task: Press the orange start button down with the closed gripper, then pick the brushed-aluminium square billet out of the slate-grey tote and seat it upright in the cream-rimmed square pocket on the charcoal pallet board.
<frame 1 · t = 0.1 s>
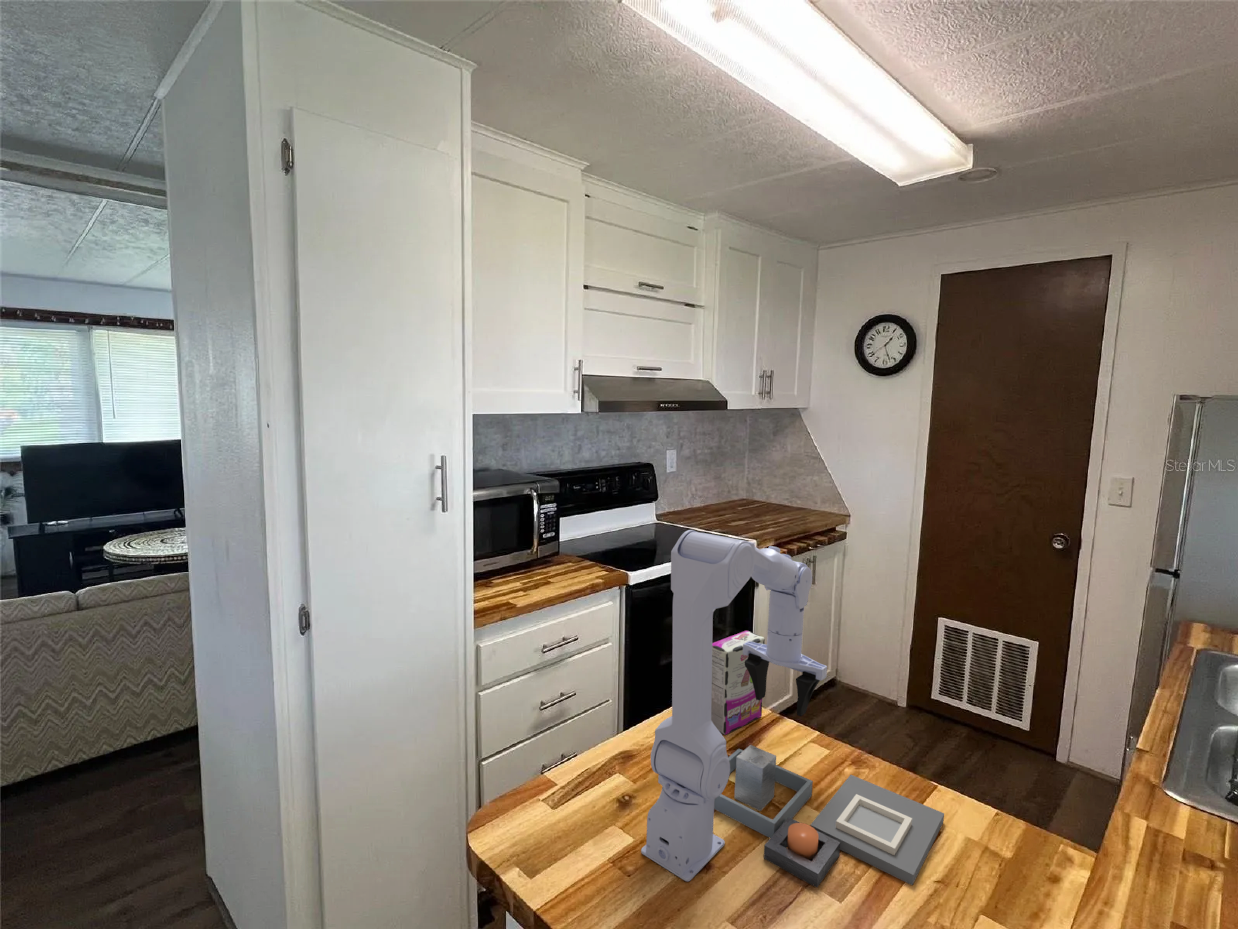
hand: (780, 705, 107), 10 cm above the worktop, fingers open, 7 cm apart
candy bar box: (733, 722, 121), on the worktop
pallet board: (877, 828, 92), on the worktop
tote: (754, 797, 98), on the worktop
start button: (802, 841, 86), point 2 cm above the worktop, slide at 0.0 cm
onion: (692, 737, 115), on the worktop
billet: (755, 777, 98), in the tote
button collar: (801, 857, 86), on the worktop
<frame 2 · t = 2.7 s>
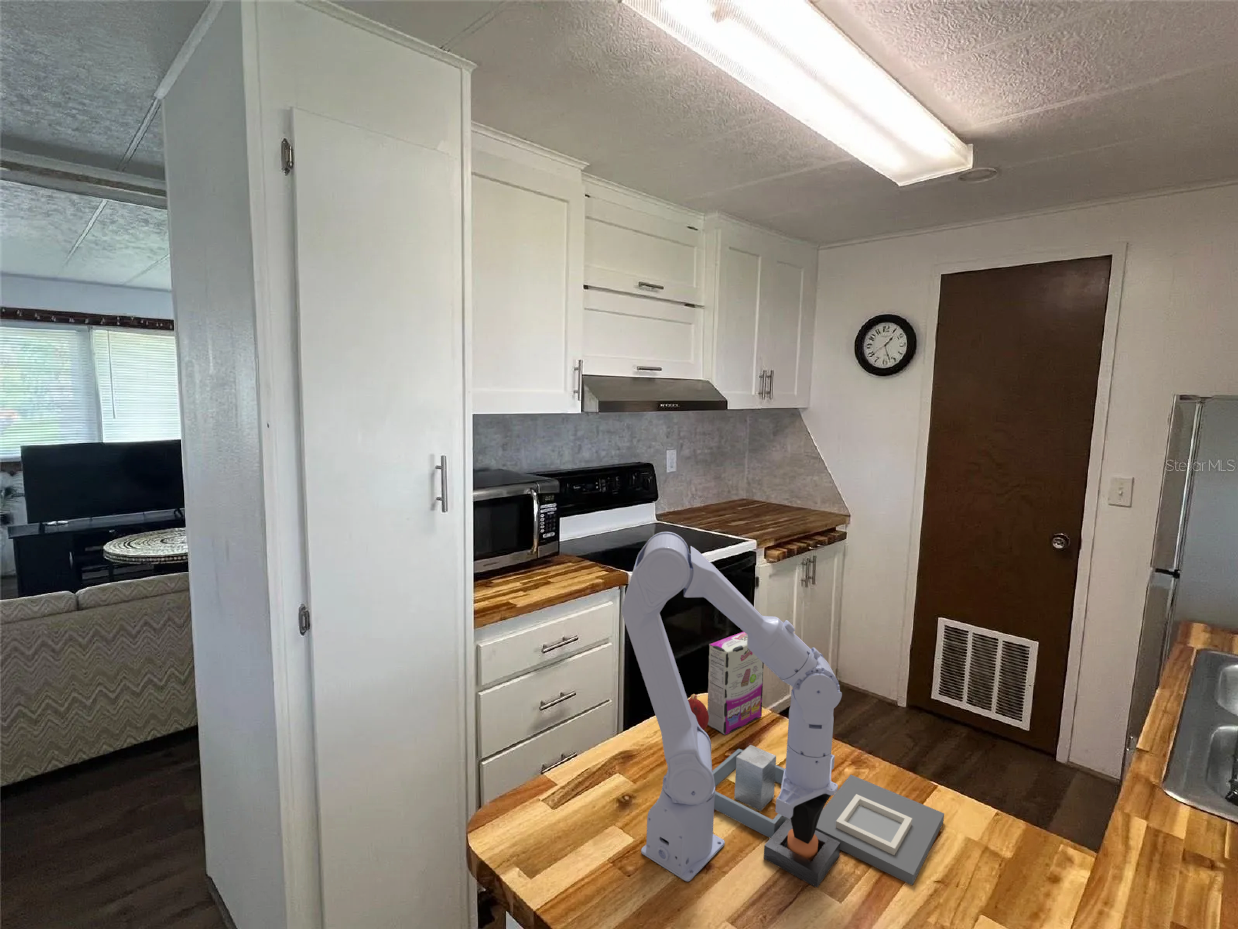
hand: (803, 838, 86), 3 cm above the worktop, fingers closed, pressing on start button
start button: (802, 846, 86), point 2 cm above the worktop, slide at 0.7 cm, touching gripper
everything else where it was.
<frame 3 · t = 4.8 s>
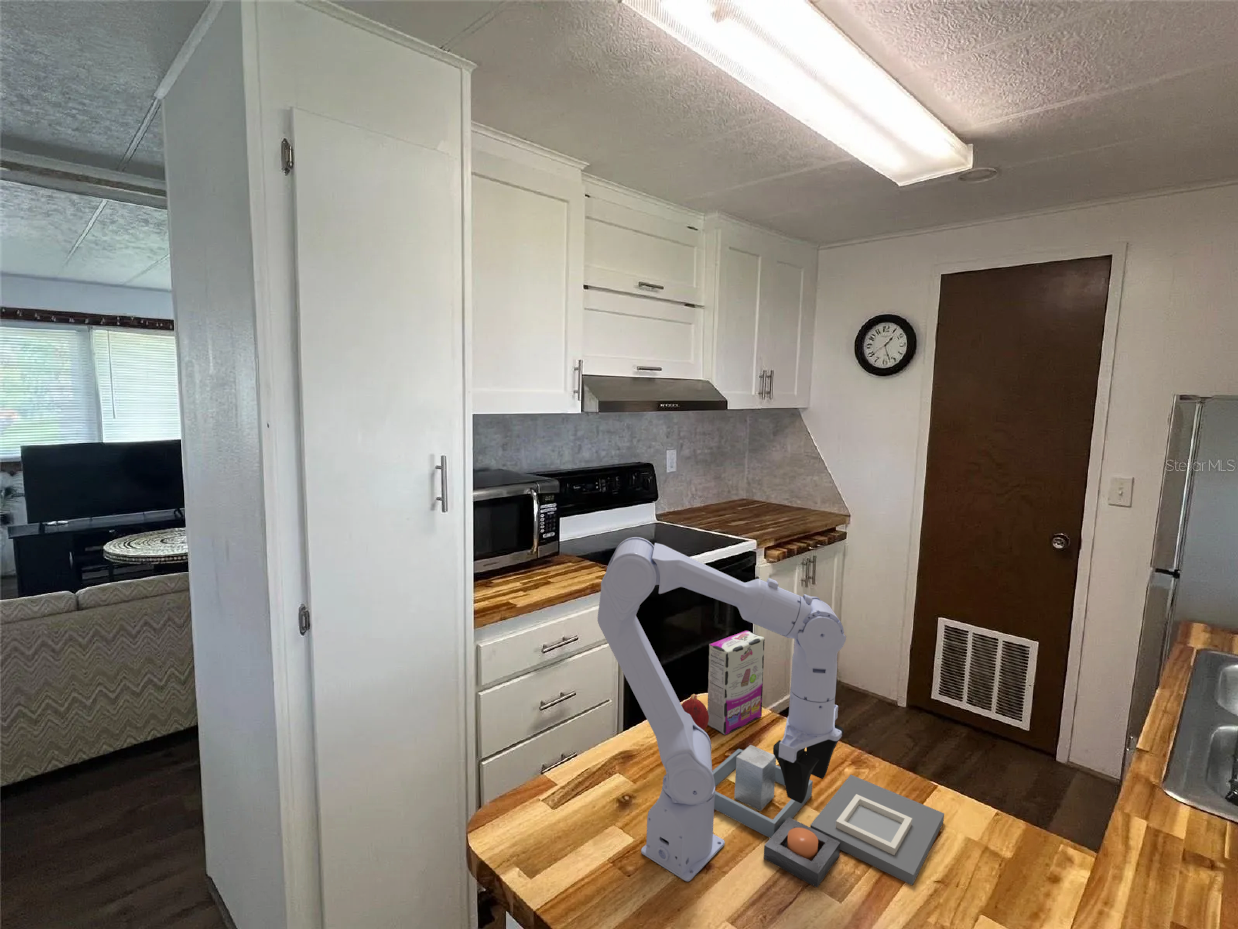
hand: (806, 787, 85), 10 cm above the worktop, fingers open, 6 cm apart
start button: (802, 846, 86), point 2 cm above the worktop, slide at 0.7 cm
everything else where it was.
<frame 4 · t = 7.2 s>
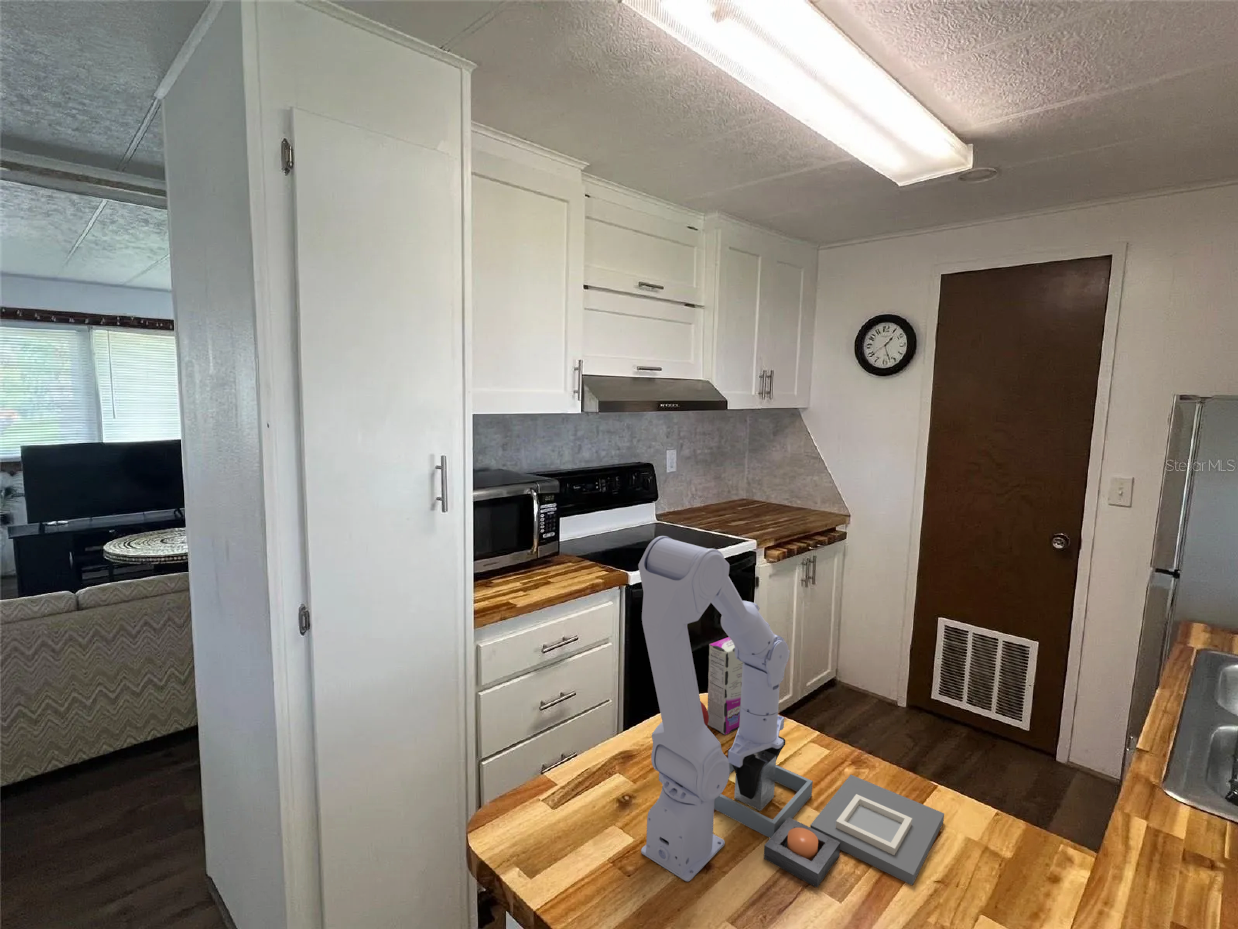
hand: (754, 788, 98), 2 cm above the worktop, fingers closed on billet, 4 cm apart
billet: (755, 777, 98), in the tote, touching gripper
everything else where it was.
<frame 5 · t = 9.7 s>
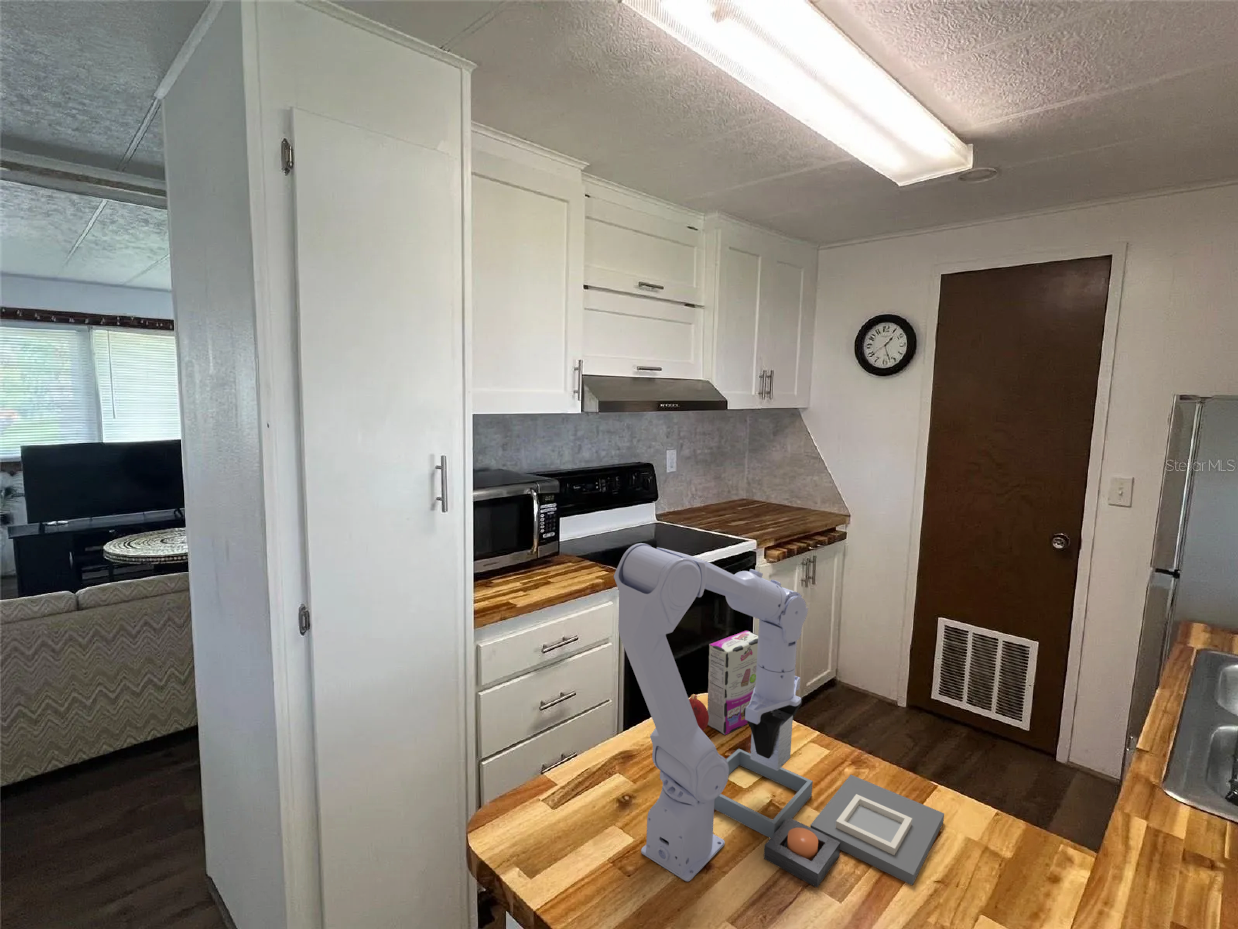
hand: (771, 748, 96), 9 cm above the worktop, fingers closed on billet, 4 cm apart
billet: (771, 737, 96), point 11 cm above the worktop, touching gripper
everything else where it was.
when the fingers open (4 cm above the worktop, at t = 12.4 s): billet stays where it is, resting on pallet board.
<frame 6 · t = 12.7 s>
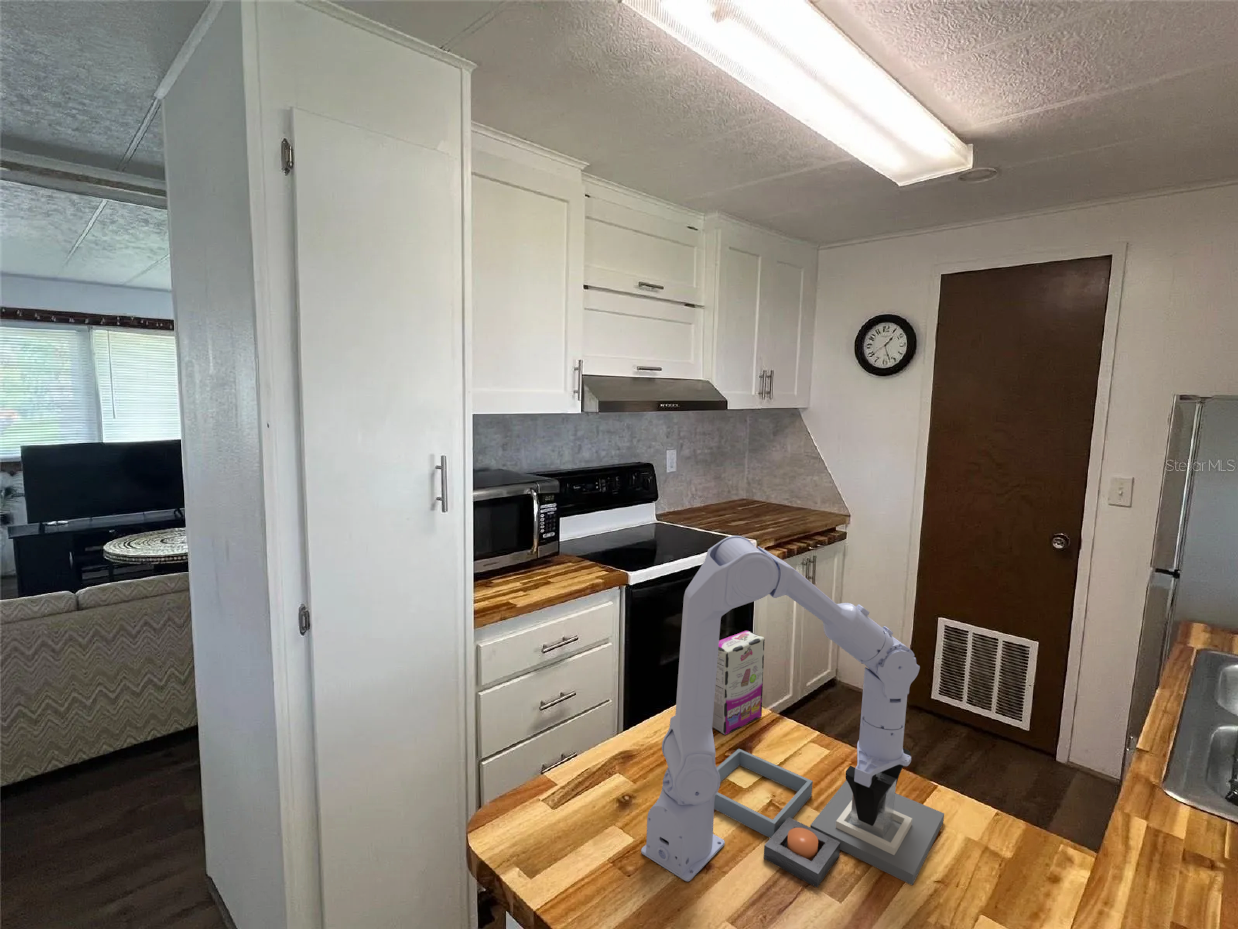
hand: (875, 808, 90), 4 cm above the worktop, fingers open, 7 cm apart
billet: (873, 802, 90), point 5 cm above the worktop, touching pallet board
everything else where it was.
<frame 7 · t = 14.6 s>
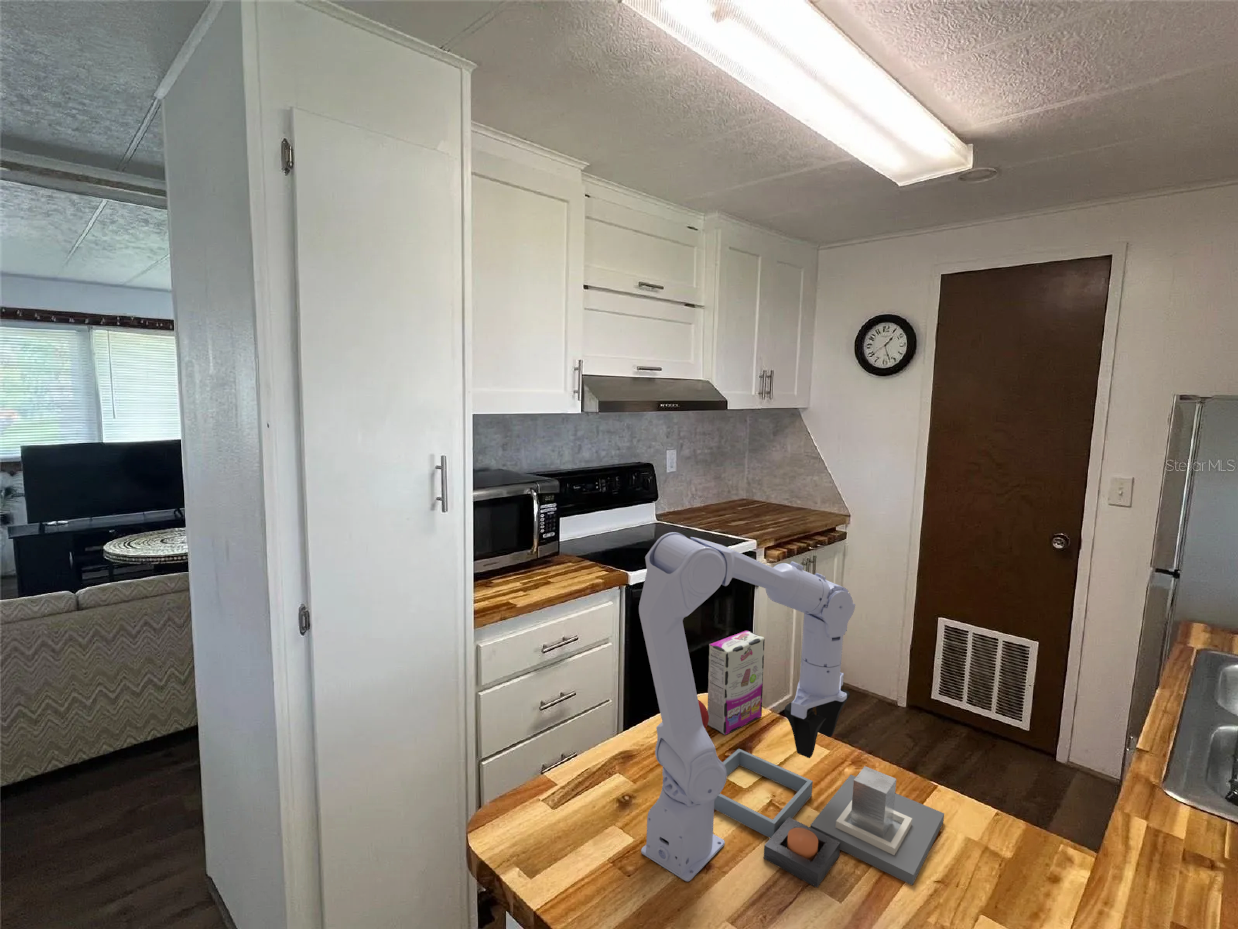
hand: (815, 744, 95), 10 cm above the worktop, fingers open, 7 cm apart
nothing on the worktop moved.
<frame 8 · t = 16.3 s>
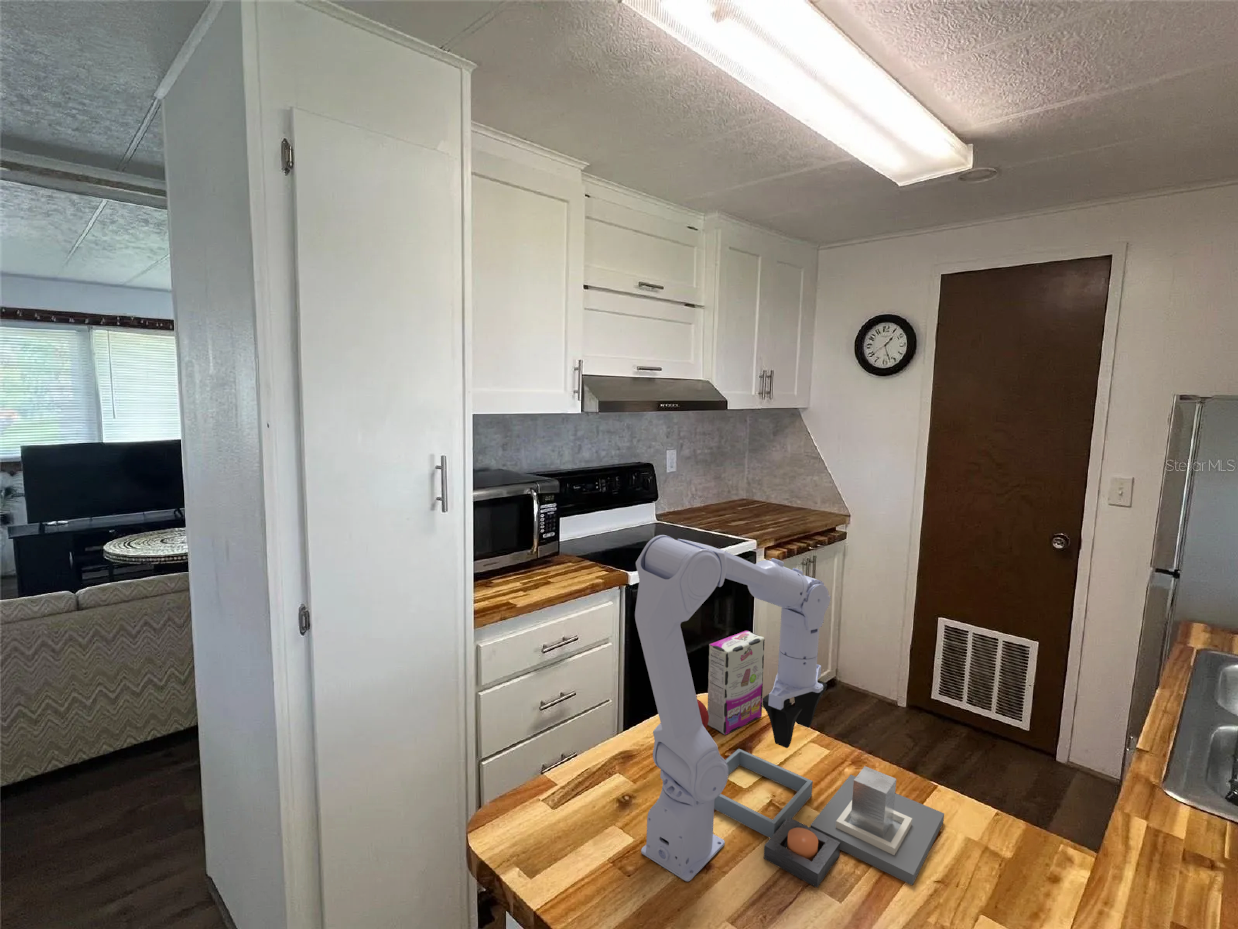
hand: (793, 734, 98), 10 cm above the worktop, fingers open, 7 cm apart
nothing on the worktop moved.
at the end: billet 0.3 cm from the target spot, point 5.1 cm above the worktop; billet tilted 0°; start button slide at 0.7 cm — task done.
